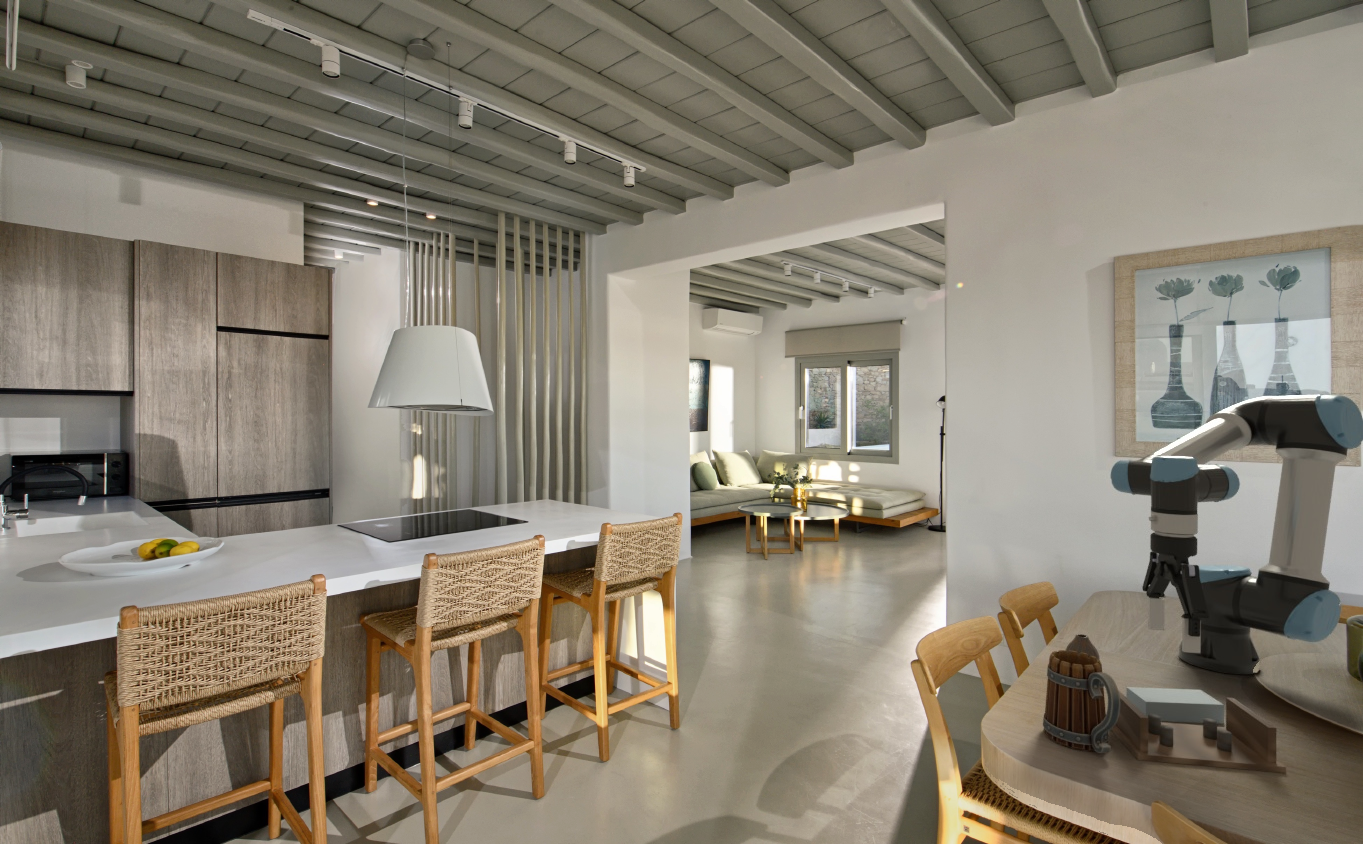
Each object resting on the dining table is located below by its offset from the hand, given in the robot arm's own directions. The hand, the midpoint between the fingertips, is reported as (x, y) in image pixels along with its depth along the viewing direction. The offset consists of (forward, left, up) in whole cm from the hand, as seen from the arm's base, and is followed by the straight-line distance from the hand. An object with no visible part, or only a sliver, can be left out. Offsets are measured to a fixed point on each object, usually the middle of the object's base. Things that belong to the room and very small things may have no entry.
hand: (1172, 640), depth 133 cm
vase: (+10, -19, -15) cm, 26 cm away
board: (0, 0, -15) cm, 15 cm away
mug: (+22, +17, -15) cm, 31 cm away
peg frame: (+4, +14, -15) cm, 21 cm away
